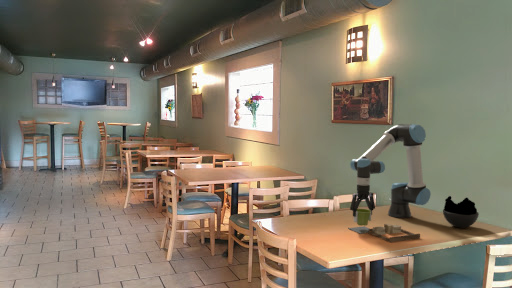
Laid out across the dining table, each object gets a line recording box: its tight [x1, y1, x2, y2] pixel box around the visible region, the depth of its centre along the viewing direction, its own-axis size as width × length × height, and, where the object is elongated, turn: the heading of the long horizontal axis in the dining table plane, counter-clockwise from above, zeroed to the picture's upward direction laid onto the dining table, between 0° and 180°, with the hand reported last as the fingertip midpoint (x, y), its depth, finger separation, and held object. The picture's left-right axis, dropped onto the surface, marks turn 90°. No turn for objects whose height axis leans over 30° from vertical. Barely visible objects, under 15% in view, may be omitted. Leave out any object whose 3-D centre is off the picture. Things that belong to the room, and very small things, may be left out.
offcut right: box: [392, 224, 402, 235], centre depth 242 cm, size 4×6×4 cm, turn 110°
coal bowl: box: [442, 195, 480, 229], centre depth 253 cm, size 20×20×19 cm
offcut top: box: [383, 223, 394, 235], centre depth 240 cm, size 4×5×3 cm
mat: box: [348, 225, 371, 235], centre depth 245 cm, size 12×12×1 cm
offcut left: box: [372, 225, 386, 236], centre depth 238 cm, size 4×6×4 cm, turn 115°
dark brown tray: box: [367, 228, 421, 243], centre depth 234 cm, size 19×21×2 cm
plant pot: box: [356, 208, 371, 227], centre depth 245 cm, size 9×9×9 cm
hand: (362, 221), depth 245 cm, fingers closed on plant pot, 9 cm apart
